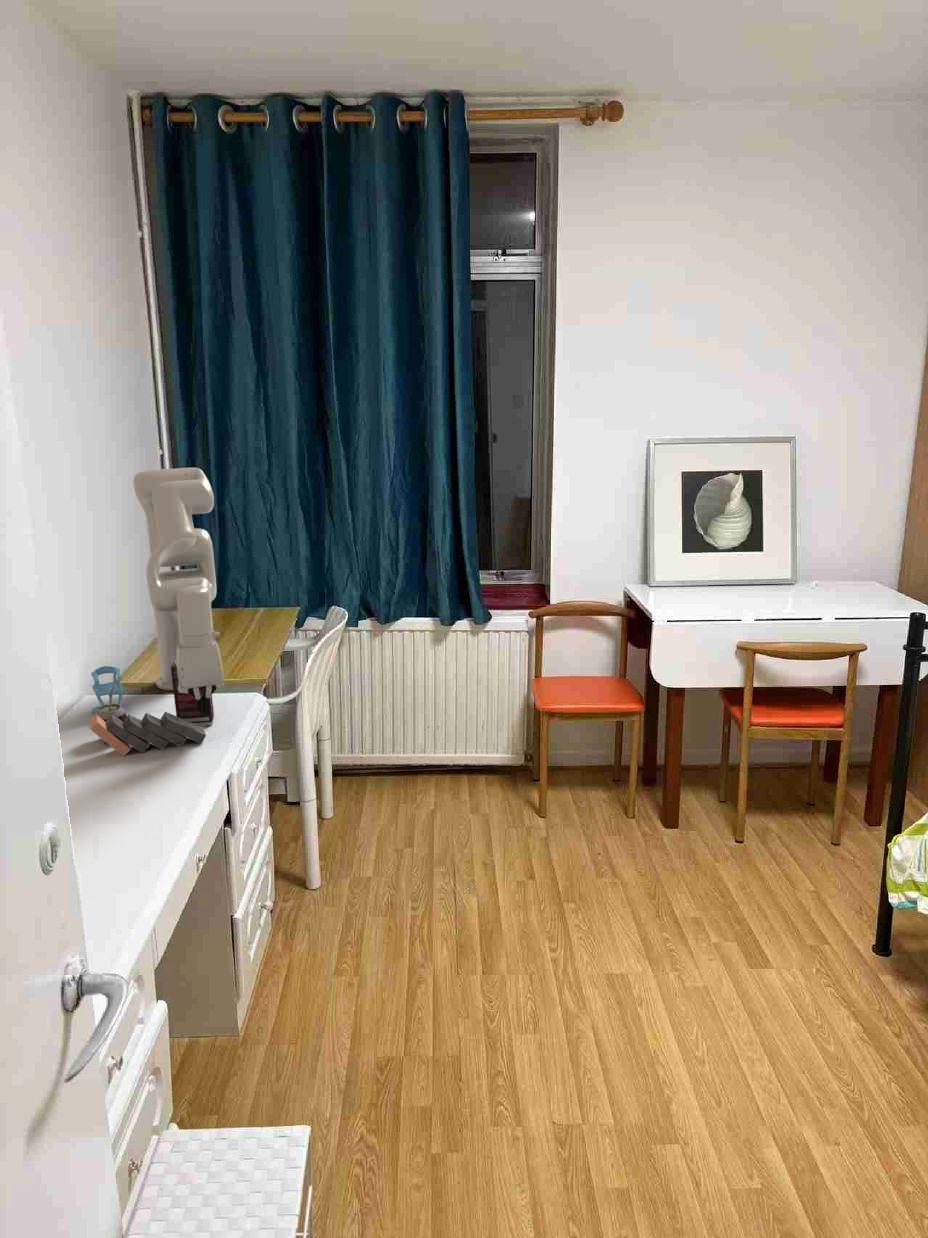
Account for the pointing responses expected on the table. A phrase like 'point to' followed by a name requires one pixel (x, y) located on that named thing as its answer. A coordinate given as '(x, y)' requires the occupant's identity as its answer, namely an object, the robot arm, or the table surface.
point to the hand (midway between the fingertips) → (204, 712)
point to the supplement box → (189, 703)
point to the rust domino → (108, 735)
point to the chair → (107, 685)
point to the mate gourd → (111, 710)
